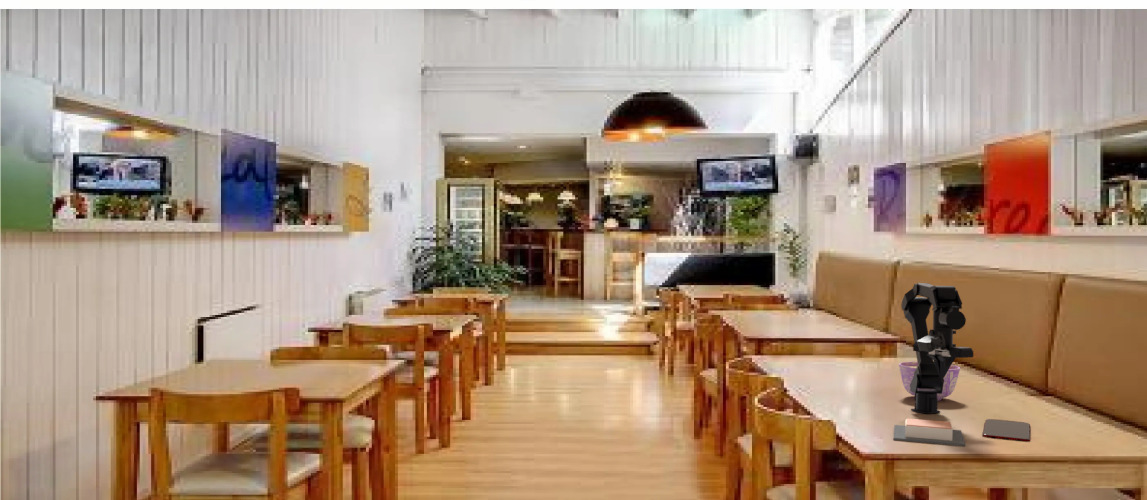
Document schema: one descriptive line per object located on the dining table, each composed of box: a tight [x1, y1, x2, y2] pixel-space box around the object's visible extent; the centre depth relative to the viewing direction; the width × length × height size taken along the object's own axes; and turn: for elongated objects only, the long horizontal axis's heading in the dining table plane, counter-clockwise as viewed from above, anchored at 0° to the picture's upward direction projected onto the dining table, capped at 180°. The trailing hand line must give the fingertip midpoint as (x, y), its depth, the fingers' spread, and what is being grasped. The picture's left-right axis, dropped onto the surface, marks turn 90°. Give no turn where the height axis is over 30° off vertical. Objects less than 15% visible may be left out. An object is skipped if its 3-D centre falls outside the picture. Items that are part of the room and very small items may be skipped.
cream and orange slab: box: [904, 418, 954, 441], centre depth 252 cm, size 3×12×10 cm
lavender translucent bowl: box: [898, 361, 961, 401], centre depth 315 cm, size 20×20×12 cm
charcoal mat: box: [892, 424, 966, 447], centre depth 253 cm, size 19×18×1 cm
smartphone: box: [982, 418, 1031, 443], centre depth 262 cm, size 12×2×25 cm
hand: (941, 377), depth 276 cm, fingers closed
